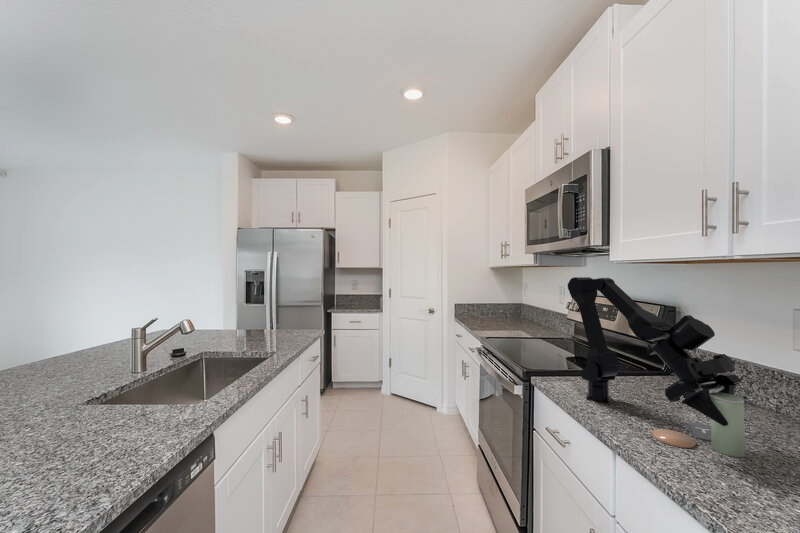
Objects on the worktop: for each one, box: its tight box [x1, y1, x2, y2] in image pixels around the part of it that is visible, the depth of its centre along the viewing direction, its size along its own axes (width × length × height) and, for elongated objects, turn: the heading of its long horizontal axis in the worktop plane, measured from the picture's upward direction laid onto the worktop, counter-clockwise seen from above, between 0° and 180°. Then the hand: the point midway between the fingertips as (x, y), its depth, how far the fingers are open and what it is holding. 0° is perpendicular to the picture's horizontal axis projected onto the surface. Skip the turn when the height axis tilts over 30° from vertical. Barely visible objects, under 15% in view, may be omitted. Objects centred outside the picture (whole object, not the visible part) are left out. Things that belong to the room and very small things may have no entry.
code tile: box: [688, 421, 712, 442], centre depth 83 cm, size 10×8×1 cm
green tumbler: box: [710, 392, 746, 458], centre depth 75 cm, size 6×6×12 cm
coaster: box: [652, 428, 697, 449], centre depth 80 cm, size 8×8×1 cm
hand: (735, 423), depth 74 cm, fingers closed on green tumbler, 5 cm apart
